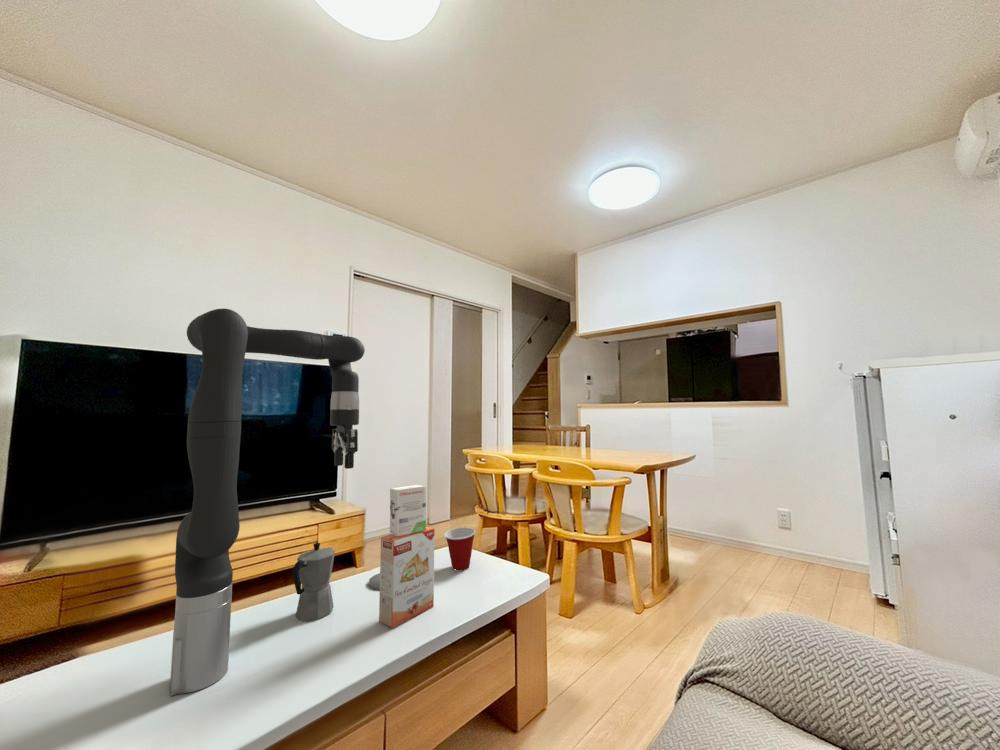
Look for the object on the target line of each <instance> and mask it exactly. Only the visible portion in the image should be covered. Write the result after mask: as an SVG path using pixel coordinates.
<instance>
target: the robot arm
mask: <svg viewBox="0 0 1000 750" xmlns="http://www.w3.org/2000/svg"><path fill="white" fill-rule="evenodd" d="M244 319H245V318H243V316H241V315H240V314H239V313H238V312H237V311H234V310H232V309H229V308H217V309H212V310H209V311H207V312H204V313H202V314H200V315H198V316H197V317H195V318H193V320H191V322H190V323H189V324H188V326H187V328H186V336H187V340H188V341H189V342H188V343H189V344H190V345H192V347H193V348H195V349H196V350H197V351H200V352H201V354H202V355H201V362H202V365H201V372H200V377H199V382H198V384H197V387H196V390H195V393H194V395H193V398H192V401H191V404H190V407H189V411H188V418H187V431H186V449H187V457H188V464H189V468H190V472H191V473H190V474H191V478H192V483H193V498H192V499H193V500H192V507H191V511H190V512H189V513H188V514H186V515H185V516H184V517H183V518H182V520H181V522H180V523H179V526H178V528H177V532H176V537H175V541H176V542H175V561H174V563H175V565H174V577H175V578H174V579H175V585H176V593H175V595H176V596H175V609H174V610H175V611H174V612H175V613H174V624H173V626H174V627H173V633H172V634H173V635H172V645H171V646H172V650H171V660H170V661H171V663H170V664H171V666H170V681H169V686H170V687H169V696H170V697H171V696H174V695H177V694H178V695H179V694H188V693H193V692H197V691H200V690H202V689H205V688H207V687H210V686H212V685H213V684H215V683H217V682H218V681H220V680H221V679H223V677H224V676H225V675H226V674H227V673H228V671H229V661H230V660H229V658H230V656H229V655H230V654H229V653H230V639H231V638H230V635H231V634H230V633H231V615H232V597H233V596H232V595H233V578H234V575H233V574H234V571H233V570H234V569H233V567H232V564H231V560H230V559H231V558H230V549H231V548H232V546H234V544H235V542H236V541H237V539H238V536H239V532H240V524H241V523H240V514H239V504H238V503H239V501H238V489H237V487H238V475H239V474H238V472H239V463H240V449H241V448H240V447H241V437H242V436H241V435H242V404H243V403H242V402H243V401H242V400H243V399H242V397H243V370H244V362H245V356H246V354H247V353H248V354H264V355H265V354H266V355H272V356H273V355H274V356H281V357H290V358H297V359H298V358H299V359H305V360H316V361H317V360H318V361H319V360H328V366H329V371H330V374H331V378H332V379H331V381H332V382H331V396H330V397H331V398H330V410H329V411H330V412H329V413H330V416H329V417H330V418H329V421H330V422H329V425H330V426H336V428H333V429H332V430H331V432H332V433H331V450H332V451H333V453H334V466H335V467H339V466H343V465H344V469H346V470H348V469H354V467H355V466H354V462H355V458H354V457H355V454H356V453H357V452H358V451H359V445H358V441H359V440H358V435H359V434H358V429H357V428H356V429H354V428H353V426H357V425H358V426H359V424H360V396H359V392H360V391H359V388H360V387H359V384H360V383H359V382H360V378H359V374H358V373H357V372H355V371H353V370H352V367H351V363H356V362H357V361H359V360H361V359H362V358H363V356H364V355H365V345H364V344H363V342H362V341H361V340H359V339H358V338H356V337H354V336H347V335H328V334H322V333H318V332H311V331H306V330H305V331H304V330H299V329H298V330H297V329H277V328H276V329H275V328H274V329H273V328H272V329H271V328H263V327H262V328H260V327H253V326H248V325H247V323H246V321H245V320H244Z"/></svg>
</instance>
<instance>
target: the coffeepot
mask: <svg viewBox="0 0 1000 750" xmlns="http://www.w3.org/2000/svg"><path fill="white" fill-rule="evenodd" d="M320 545H321V542H314V543H313V549H312V550H307V551H305V552H302V553H300V555H298V556H297V558H296V559H297V561H296V562H295V564H294V566H293V569H292V571H291V574H292V575H291V576H292V579H293V583H294V586H295V587H294V588H295V591H296V594H297V595H299V598H298V603H297V608H296V613H295V618H296V619H297V620H298V621H301V622H313V621H318V620H322V619H323V618H326V617H328V616H329V615H330V614H332V612H333V609H334V602H333V601H334V600H333V594H332V587H331V584H330V579H331V577H332V571H333V567H334V561H335V560H334V559H335V554H336V550H334V549H333V548H334V547H324V548H320Z"/></svg>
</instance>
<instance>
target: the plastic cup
mask: <svg viewBox="0 0 1000 750" xmlns="http://www.w3.org/2000/svg"><path fill="white" fill-rule="evenodd" d="M443 534H444V537H445V540H446V542H447V546H448V553H449V558H450V561H451V562H450V563H451V567H453V568H452V569H453V570H454V569H456V570H455V571H457V570H462V571H465V570H464V569H466V570H468V569H469V568H470V564H471V557H472V553H473V544H474V538H475V534H476V529H475V528H473V527H468V526H467V527H466V526H462V527H461V526H460V527H455V528H450V529H449V530H447V531H445V532H444V533H443ZM467 568H468V569H467Z"/></svg>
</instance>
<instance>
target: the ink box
mask: <svg viewBox="0 0 1000 750" xmlns="http://www.w3.org/2000/svg"><path fill="white" fill-rule="evenodd" d="M426 527H427V487H426V486H424V485H421V484H415V485H413V484H412V485H407V486H405V485H404V486H400V487H399V486H398V487H391V488H390V489H389V533H390V535H391V534H393V535H395V536H397V537H398V536H402V535H407V534H411V533H416V532H421V531H425V530H426Z"/></svg>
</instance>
